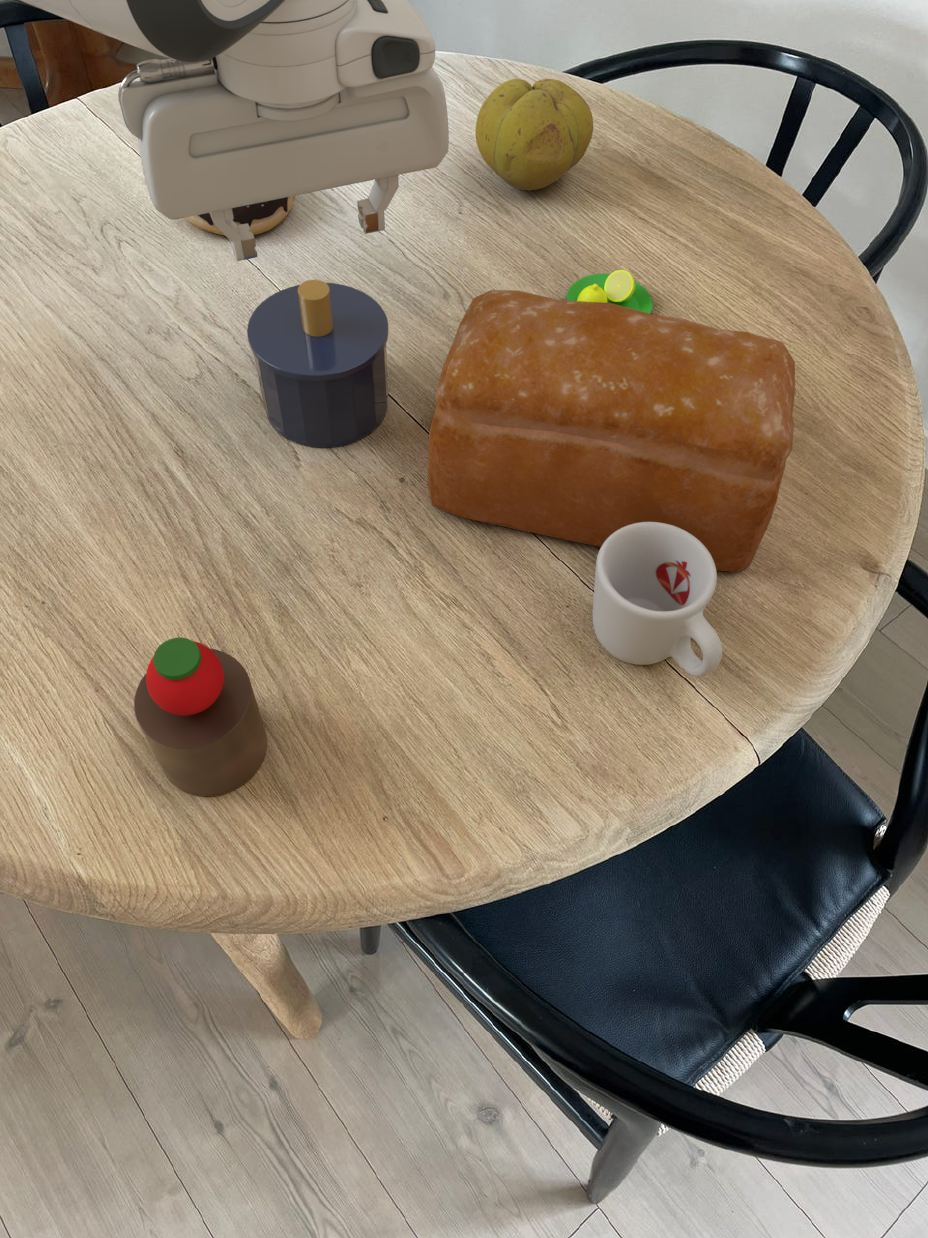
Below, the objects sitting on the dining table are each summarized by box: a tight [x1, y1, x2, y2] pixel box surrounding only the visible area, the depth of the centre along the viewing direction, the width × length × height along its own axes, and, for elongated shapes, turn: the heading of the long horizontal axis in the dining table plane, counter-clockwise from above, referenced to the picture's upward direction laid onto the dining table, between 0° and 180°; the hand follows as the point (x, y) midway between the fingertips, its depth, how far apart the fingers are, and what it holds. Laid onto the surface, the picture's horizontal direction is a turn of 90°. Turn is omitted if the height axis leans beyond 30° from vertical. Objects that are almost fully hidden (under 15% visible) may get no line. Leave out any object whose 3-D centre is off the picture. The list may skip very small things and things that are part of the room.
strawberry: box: [145, 637, 224, 715], centre depth 57 cm, size 4×4×5 cm
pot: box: [253, 344, 389, 449], centre depth 80 cm, size 10×10×8 cm
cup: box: [592, 522, 723, 678], centre depth 67 cm, size 11×8×8 cm
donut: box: [183, 195, 297, 236], centre depth 96 cm, size 11×12×4 cm
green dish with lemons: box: [566, 269, 653, 314], centre depth 90 cm, size 8×8×3 cm
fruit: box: [475, 78, 594, 191], centre depth 98 cm, size 11×12×10 cm
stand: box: [133, 647, 268, 798], centre depth 62 cm, size 7×7×7 cm
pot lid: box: [246, 279, 389, 381], centre depth 75 cm, size 11×11×5 cm
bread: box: [427, 289, 796, 573], centre depth 72 cm, size 14×26×16 cm, turn 76°
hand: (309, 240), depth 70 cm, fingers open, 8 cm apart
